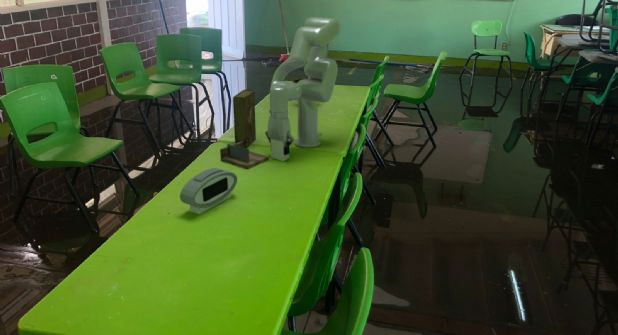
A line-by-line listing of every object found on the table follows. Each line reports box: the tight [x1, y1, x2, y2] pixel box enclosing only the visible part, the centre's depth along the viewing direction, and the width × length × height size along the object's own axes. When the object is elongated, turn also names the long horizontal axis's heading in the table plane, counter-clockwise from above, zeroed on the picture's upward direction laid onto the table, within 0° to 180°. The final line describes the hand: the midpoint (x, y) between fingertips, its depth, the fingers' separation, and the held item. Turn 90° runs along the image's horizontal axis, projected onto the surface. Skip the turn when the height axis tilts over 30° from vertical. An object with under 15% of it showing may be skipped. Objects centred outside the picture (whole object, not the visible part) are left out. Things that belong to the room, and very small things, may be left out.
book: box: [232, 88, 257, 149], centre depth 230 cm, size 16×6×25 cm, turn 168°
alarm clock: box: [179, 167, 238, 215], centre depth 171 cm, size 23×6×13 cm, turn 148°
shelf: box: [219, 141, 270, 170], centre depth 212 cm, size 14×16×8 cm
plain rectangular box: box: [270, 139, 290, 162], centre depth 214 cm, size 4×7×10 cm, turn 54°
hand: (279, 152), depth 215 cm, fingers closed on plain rectangular box, 7 cm apart
